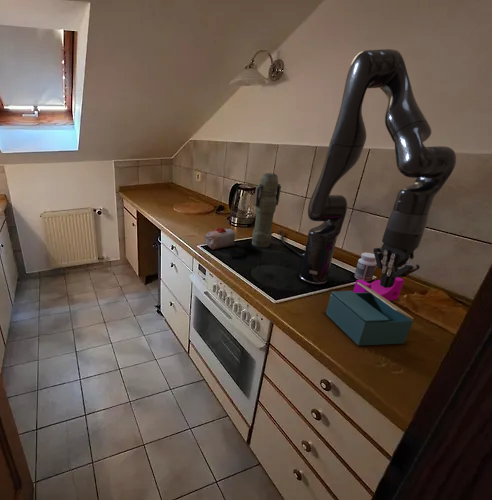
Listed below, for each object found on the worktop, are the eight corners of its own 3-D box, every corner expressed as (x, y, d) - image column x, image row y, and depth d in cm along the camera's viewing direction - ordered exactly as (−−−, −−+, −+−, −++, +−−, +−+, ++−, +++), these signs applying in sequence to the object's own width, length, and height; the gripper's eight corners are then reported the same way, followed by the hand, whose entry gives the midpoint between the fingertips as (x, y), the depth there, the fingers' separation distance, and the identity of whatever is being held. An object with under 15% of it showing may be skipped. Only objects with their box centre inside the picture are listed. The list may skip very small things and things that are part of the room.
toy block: (380, 290, 108) (386, 271, 105) (397, 299, 102) (404, 280, 99) (345, 295, 105) (350, 276, 102) (360, 305, 100) (366, 285, 97)
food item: (211, 251, 145) (213, 232, 141) (203, 245, 151) (204, 227, 148) (235, 247, 149) (237, 228, 145) (226, 241, 155) (227, 223, 152)
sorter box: (325, 313, 96) (331, 291, 93) (365, 312, 96) (372, 289, 93) (358, 345, 82) (366, 320, 79) (404, 343, 82) (414, 318, 79)
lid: (356, 282, 92) (357, 281, 91) (371, 290, 93) (372, 289, 93) (396, 310, 78) (397, 309, 78) (413, 319, 79) (414, 318, 79)
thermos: (245, 242, 153) (253, 173, 140) (264, 239, 156) (274, 171, 143) (255, 249, 146) (265, 176, 132) (276, 245, 148) (287, 174, 135)
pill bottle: (371, 276, 117) (378, 253, 113) (372, 283, 113) (379, 259, 109) (353, 273, 120) (359, 251, 116) (354, 279, 115) (360, 256, 111)
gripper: (371, 220, 83) (356, 276, 90) (412, 237, 71) (391, 299, 77) (398, 220, 83) (380, 275, 90) (443, 236, 71) (419, 298, 78)
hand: (385, 286), depth 84 cm, fingers closed
